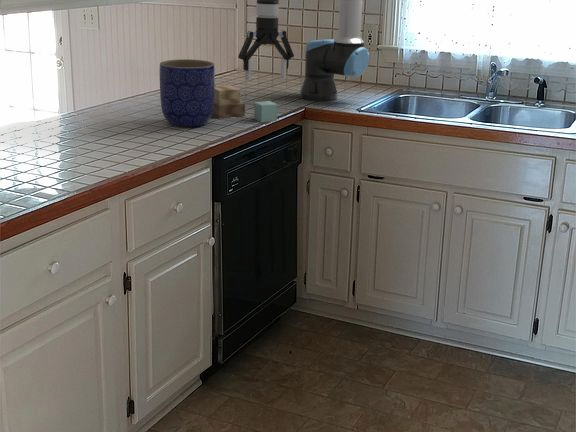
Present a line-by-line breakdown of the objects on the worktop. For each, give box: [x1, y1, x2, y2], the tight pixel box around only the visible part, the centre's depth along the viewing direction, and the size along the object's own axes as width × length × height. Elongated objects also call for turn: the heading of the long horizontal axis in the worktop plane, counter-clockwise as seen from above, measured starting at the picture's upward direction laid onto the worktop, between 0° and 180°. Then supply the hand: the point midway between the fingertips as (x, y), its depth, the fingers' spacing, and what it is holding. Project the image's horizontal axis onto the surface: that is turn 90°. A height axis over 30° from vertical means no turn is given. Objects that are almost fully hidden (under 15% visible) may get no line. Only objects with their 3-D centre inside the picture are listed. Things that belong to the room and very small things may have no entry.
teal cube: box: [253, 100, 278, 123], centre depth 287 cm, size 6×6×6 cm
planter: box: [159, 59, 216, 128], centre depth 275 cm, size 18×18×21 cm
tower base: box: [212, 101, 246, 120], centre depth 293 cm, size 10×10×5 cm
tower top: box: [214, 85, 241, 105], centre depth 291 cm, size 8×8×5 cm
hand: (265, 79), depth 283 cm, fingers open, 13 cm apart
